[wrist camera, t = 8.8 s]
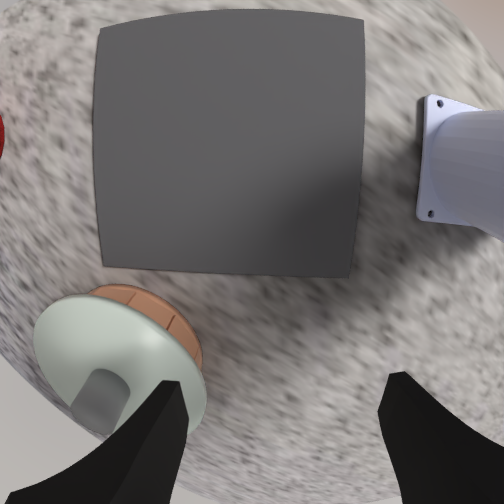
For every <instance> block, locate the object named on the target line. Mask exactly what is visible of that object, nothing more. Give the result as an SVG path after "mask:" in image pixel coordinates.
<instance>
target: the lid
mask: <svg viewBox="0 0 504 504" xmlns="http://www.w3.org/2000/svg"><path fill="white" fill-rule="evenodd" d="M33 345H34V351H35V355H36V358H37V361H38V364H39V366H40V369H41V371H42V373H43V374H44V376H45V378H46V380H47V381H48V383H49V384H50V386H51V387H52V388H53V390H54V391H55V392H56V393H57V395H58V396H59V397H60V398H61V399H62V400H63V401H64V402H65V403H66V404H67V405H68V406H69V407H70V409H71V412H72V414H73V416H74V417H75V418H76V419H77V420H78V421H79V422H80V423H81V424H82V425H84V426H85V427H86V428H88V429H90V430H92V431H94V432H96V433H100V434H111V433H112V434H113V433H114V432H115V431H116V430H117V429H118V428H119V427H120V426H121V425H122V424H123V423H124V422H125V421H126V420H127V419H128V418H129V417H130V416H131V415H132V414H133V413H134V412H135V411H136V410H137V409H138V407H139V406H140V405H141V404H142V403H143V402H144V401H145V400H146V398H147V397H148V396H149V395H150V394H151V393H152V391H153V390H154V389H155V388H156V387H157V385H158V384H159V383H160V382H161V381H162V380H170V381H180V385H181V389H182V393H183V397H184V401H185V405H186V408H187V412H188V416H189V425H188V432H187V435H189V434H190V433H192V432H193V431H194V430H195V429H196V428H197V427H198V426H199V424H200V423H201V421H202V418H203V416H204V412H205V408H206V402H207V390H206V385H205V381H204V378H203V376H202V373H201V371H200V369H199V367H198V366H197V364H196V362H195V360H194V359H193V358H192V356H191V355H190V354H189V352H188V351H187V350H186V348H185V347H184V346H183V345H182V344H181V343H180V342H179V341H178V340H177V339H176V338H175V337H174V336H173V335H172V334H171V333H170V332H168V331H167V330H166V329H165V328H164V327H162V326H161V325H160V324H158V323H157V322H156V321H154V320H153V319H152V318H150V317H148V316H147V315H145V314H143V313H142V312H140V311H138V310H136V309H134V308H132V307H130V306H128V305H126V304H124V303H121V302H118V301H116V300H113V299H110V298H106V297H102V296H97V295H90V294H76V295H70V296H66V297H63V298H60V299H58V300H57V301H55V302H54V303H52V304H51V305H50V306H49V307H48V308H47V309H46V310H45V311H44V312H43V313H42V314H41V315H40V316H39V318H38V320H37V322H36V325H35V327H34V333H33Z"/></svg>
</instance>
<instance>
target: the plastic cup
mask: <svg viewBox="0 0 504 504" xmlns="http://www.w3.org/2000/svg"><path fill="white" fill-rule="evenodd" d="M3 145H4V125H3V121H2V117H1V115H0V158H1V155H2V151H3Z"/></svg>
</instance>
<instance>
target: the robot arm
mask: <svg viewBox="0 0 504 504" xmlns="http://www.w3.org/2000/svg"><path fill="white" fill-rule="evenodd" d="M437 100H438V101H439V102H440V107H438V105H437ZM430 210H431V211H432V214H431V216H429V217H428V212H429V211H430ZM416 216H417V218H418V219H420V220H422V221H428V222H438V223H447V224H457V225H466V226H474V227H477V228H479V229H481V230H482V231H484V232H486V233H488V234H490V235H491V236H493V237H495V238H497V239H498V240H500V241H502V242H504V110H491V111H484V110H481V109H479V108H476V107H473V106H470V105H467V104H464V103H461V102H458V101H455V100H451V99H448V98H445V97H441V96H438V95H434V94H429V95H427V96H426V97H425V99H424V131H423V149H422V162H421V173H420V183H419V191H418V199H417V207H416ZM377 412H378V417H379V422H380V427H381V431H382V436H383V439H384V442H385V445H386V448H387V451H388V454H389V456H390V459H391V462H392V465H393V468H394V471H395V474H396V477H397V480H398V484H399V487H400V491H401V497H402V503H403V504H504V447H503V446H501V445H499V444H497V443H495V442H493V441H491V440H489V439H488V438H486V437H484V436H483V435H481V434H480V433H478V432H476V431H475V430H473V429H472V428H470V427H469V426H468V425H466V424H465V423H464V422H462V421H461V420H460V419H458V418H457V417H456V416H454V415H453V414H452V413H451V412H450V411H448V410H447V409H446V408H445V407H444V406H443V405H441V404H440V403H439V402H438V401H437V400H436V399H435V398H434V397H432V396H431V395H430V394H429V393H428V392H427V391H426V390H425V389H424V388H423V387H422V386H420V385H419V384H418V383H417V382H416V381H415V380H414V379H413V378H412V377H411V376H410V375H409V374H407V373H406V372H405V371H404V372H397V373H391V374H389V377H388V381H387V384H386V387H385V390H384V394H383V397H382V400H381V403H380V406H379V409H378V411H377ZM188 425H189V416H188V412H187V408H186V405H185V401H184V397H183V393H182V389H181V385H180V381H170V380H162V381H161V382H160V383H159V384H158V385H157V387H156V388H155V389H154V390H153V391H152V393H151V394H150V395H149V396H148V397H147V398H146V400H145V401H144V402H143V403H142V404H141V405H140V406H139V407H138V409H137V410H136V411H135V412H134V413H133V414H132V415H131V416H130V417H129V418H128V419H127V420H126V421H125V422H124V423H123V424H122V425H121V426H120V427H119V428H118V429H117V430H116V431H115V432H114V433H113V434H112V435H111V436H110V437H109V438H108V439H107V440H105V441H104V442H103V443H102V444H101V445H100V446H99V447H97V448H96V449H95V450H94V451H92V452H91V453H89V454H88V455H87V456H85V457H84V458H82V459H81V460H79V461H78V462H76V463H75V464H73V465H72V466H70V467H69V468H67V469H65V470H64V471H62V472H60V473H58V474H56V475H54V476H52V477H50V478H48V479H46V480H44V481H42V482H39V483H37V484H35V485H32V486H29V487H26V488H23V489H20V490H17V491H14V492H11V493H10V494H9V496H8V498H7V500H6V502H5V504H169V503H170V499H171V494H172V490H173V487H174V483H175V480H176V476H177V473H178V469H179V466H180V462H181V459H182V455H183V451H184V448H185V444H186V438H187V432H188Z"/></svg>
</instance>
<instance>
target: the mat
mask: <svg viewBox="0 0 504 504" xmlns="http://www.w3.org/2000/svg"><path fill="white" fill-rule="evenodd" d="M364 124H365V37H364V20H361V19H356V18H350V17H344V16H338V15H331V14H323V13H315V12H305V11H292V10H274V9H227V10H209V11H196V12H186V13H178V14H170V15H163V16H157V17H151V18H145V19H140V20H135V21H130V22H125V23H121V24H116V25H112V26H108V27H104V28H100V34H99V42H98V50H97V60H96V72H95V88H94V113H93V150H94V176H95V192H96V205H97V216H98V226H99V234H100V242H101V250H102V257H103V264H104V266H110V267H124V268H139V269H155V270H171V271H189V272H207V273H226V274H247V275H270V276H295V277H324V278H349V274H350V268H351V261H352V254H353V247H354V240H355V232H356V224H357V215H358V206H359V196H360V185H361V174H362V160H363V144H364Z"/></svg>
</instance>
